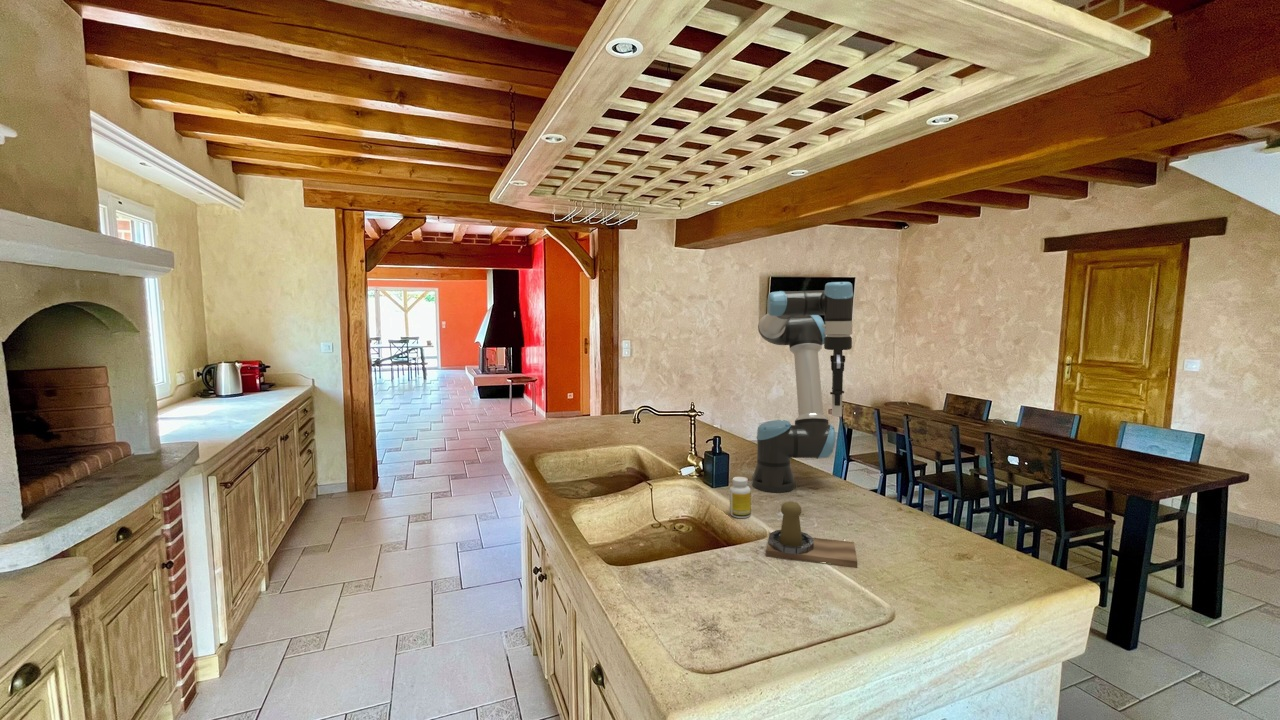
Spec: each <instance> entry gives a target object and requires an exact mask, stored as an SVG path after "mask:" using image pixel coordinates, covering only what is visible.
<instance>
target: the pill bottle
mask: <svg viewBox="0 0 1280 720" xmlns="http://www.w3.org/2000/svg"><path fill="white" fill-rule="evenodd" d="M748 482H749V480H748V477H745V476H734V477H733V478H732V485H731V486H730V488H729V513H730V515H731V516H732V517H734V518H737V519H746V518H747V519H748V518H749V517H750V516H751V515H752V491H751V490H752V489H751V488H750V486H749V485H748V484H749V483H748Z"/></svg>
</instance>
